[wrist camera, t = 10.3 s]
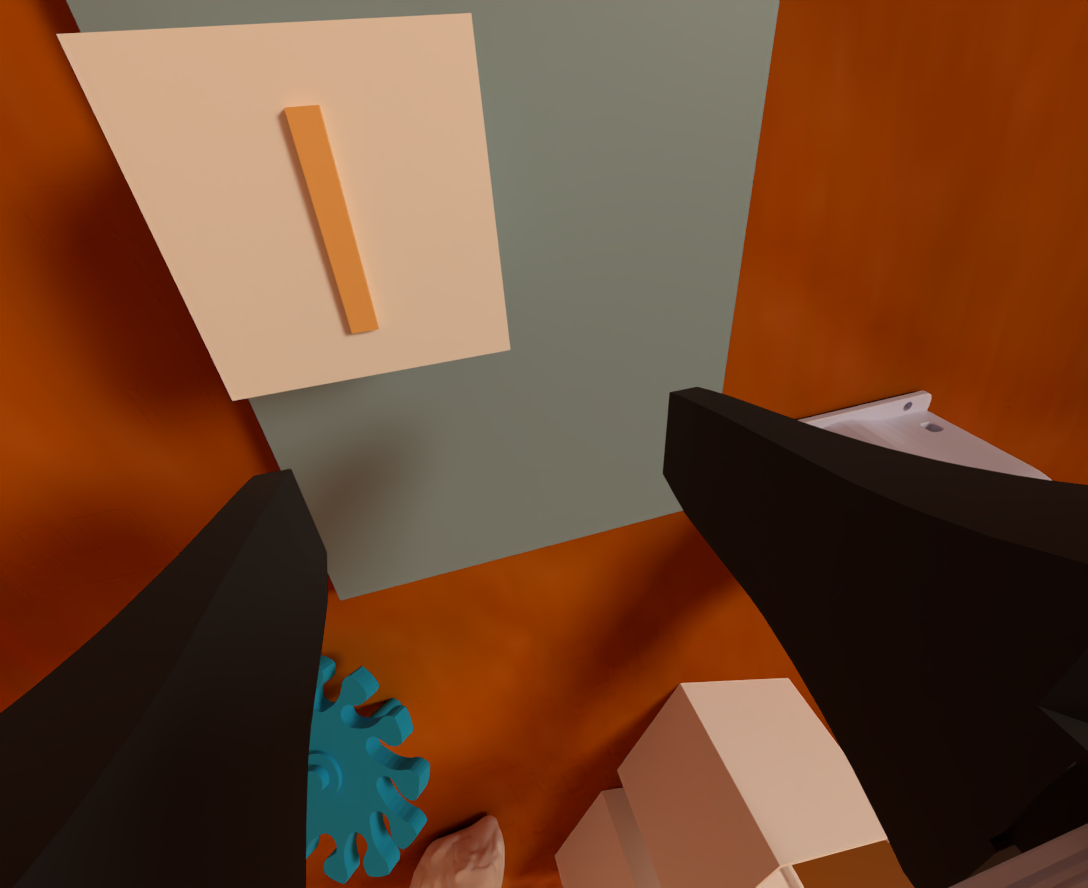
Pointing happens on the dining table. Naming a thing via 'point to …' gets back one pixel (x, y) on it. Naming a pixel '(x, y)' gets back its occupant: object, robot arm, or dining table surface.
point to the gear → (360, 777)
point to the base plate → (541, 282)
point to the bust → (464, 859)
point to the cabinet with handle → (310, 189)
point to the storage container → (722, 796)
